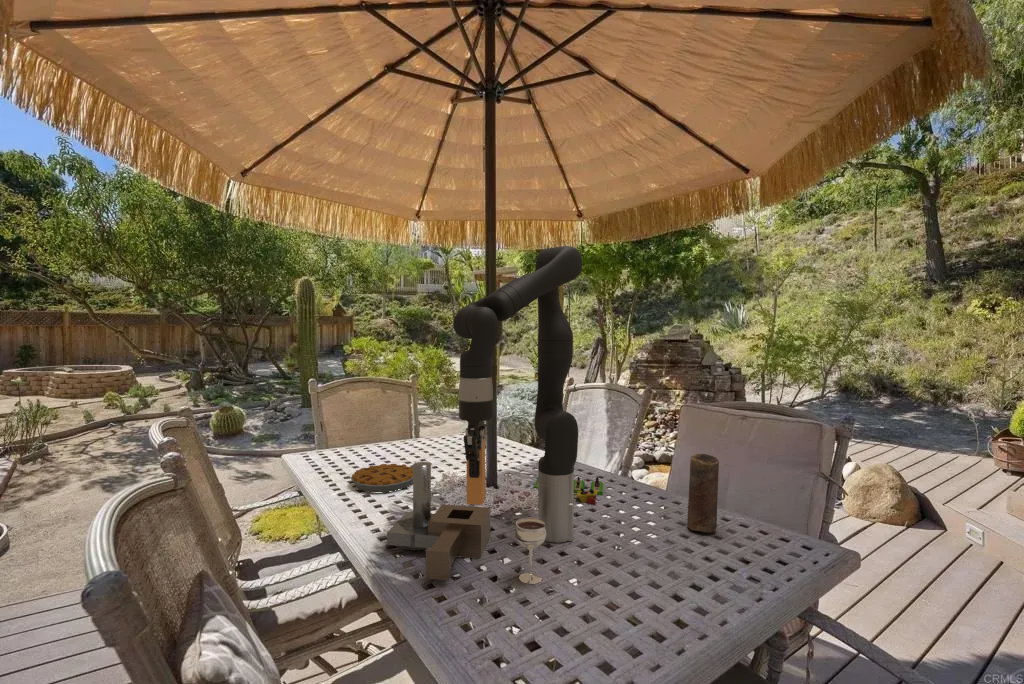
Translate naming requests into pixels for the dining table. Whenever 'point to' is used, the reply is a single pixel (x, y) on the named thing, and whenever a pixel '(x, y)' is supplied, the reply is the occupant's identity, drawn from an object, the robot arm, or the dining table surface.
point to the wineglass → (530, 542)
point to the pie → (383, 478)
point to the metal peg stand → (416, 514)
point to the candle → (703, 493)
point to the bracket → (456, 537)
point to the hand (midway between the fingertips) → (476, 473)
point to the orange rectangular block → (477, 481)
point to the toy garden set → (585, 495)
